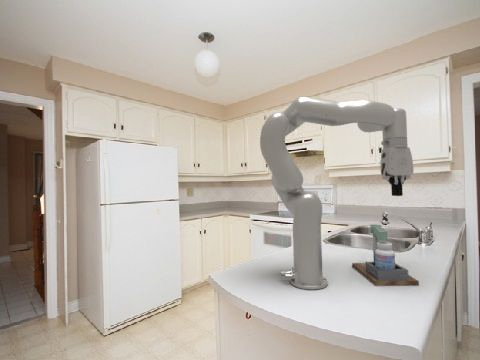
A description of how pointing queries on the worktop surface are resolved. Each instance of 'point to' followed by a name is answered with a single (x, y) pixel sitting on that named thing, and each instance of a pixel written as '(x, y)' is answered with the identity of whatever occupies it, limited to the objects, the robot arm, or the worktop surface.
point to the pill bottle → (384, 256)
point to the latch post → (375, 245)
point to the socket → (387, 273)
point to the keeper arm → (378, 232)
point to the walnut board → (362, 270)
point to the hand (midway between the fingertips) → (397, 195)
